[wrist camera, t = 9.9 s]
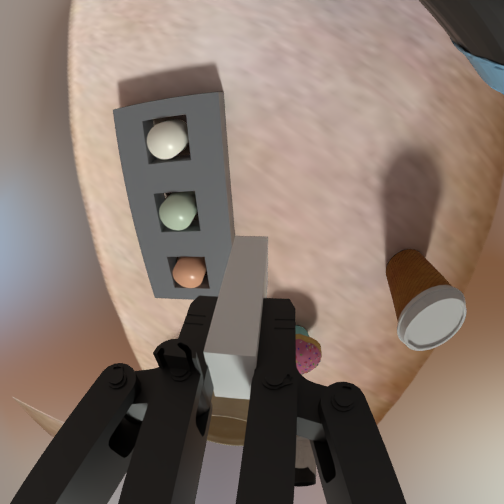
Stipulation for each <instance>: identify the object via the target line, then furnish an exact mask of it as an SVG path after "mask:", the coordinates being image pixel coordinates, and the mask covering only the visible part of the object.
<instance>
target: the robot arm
mask: <svg viewBox="0 0 504 504" xmlns="http://www.w3.org/2000/svg"><path fill="white" fill-rule="evenodd" d="M419 1H420V2H421V3H422V4H423V5H424V7H425V8H426V9H427V10H428V11H429V12H430V13H431V14H432V16H433V17H434V18H435V19H436V20H437V21H438V23H439V24H440V25H441V26H442V27H443V29H444V30H445V31H446V32H447V34H448V35H449V36H450V39H451V40H452V43H453V44H454V46H455V47H456V48H457V49H458V50H459V51H460V52H462V53H463V54H464V55H465V56H466V57H467V59H468V60H469V61H470V63H471V64H472V66H473V67H474V68H475V70H476V71H477V73H478V74H479V75H480V77H481V78H482V79H483V80H484V81H485V82H486V83H487V84H488V85H489V86H490V87H491V88H493V89H495V90H496V91H498V92H501V93H502V94H503V95H504V0H419ZM267 287H268V237H262V236H235V239H234V242H233V246H232V249H231V253H230V256H229V260H228V263H227V267H226V270H225V274H224V278H223V281H222V285H221V288H220V292H219V296H218V297H217V296H201V295H199V296H198V297H197V298H196V299H195V300H194V301H193V302H192V303H191V304H190V307H189V310H188V313H187V316H186V318H185V321H184V324H183V327H182V329H181V332H180V335H179V338H178V339H171V340H168V341H165V342H163V343H161V344H160V345H159V346H157V348H156V349H155V351H154V352H153V354H154V356H155V358H156V361H157V363H158V365H159V367H158V368H155V369H150V370H141V371H134V370H133V368H131V367H130V366H128V365H127V364H123V363H118V364H113V365H111V366H108V367H107V368H106V369H105V370H104V371H103V372H102V373H101V375H100V376H99V377H98V378H97V380H96V381H95V383H94V384H93V385H92V386H91V388H90V389H89V390H88V392H87V393H86V394H85V396H84V397H83V398H82V400H81V401H80V402H79V404H78V405H77V407H76V408H75V409H74V410H73V412H72V413H71V414H70V416H69V417H68V419H67V420H66V421H65V423H64V424H63V426H62V427H61V428H60V430H59V431H58V433H57V434H56V435H55V437H54V438H53V440H52V441H51V443H50V444H49V445H48V447H47V448H46V450H45V451H44V453H43V454H42V455H41V457H40V459H39V460H38V461H37V463H36V464H35V466H34V467H33V469H32V470H31V472H30V473H29V475H28V477H27V478H26V480H25V481H24V482H23V484H22V486H21V487H20V489H19V490H18V492H17V494H16V495H15V497H14V498H13V500H12V502H11V503H10V504H107V503H108V501H109V500H110V498H111V496H112V495H113V493H114V492H115V490H116V488H117V487H118V485H119V483H120V482H121V480H122V479H123V477H124V475H125V474H126V472H127V474H126V477H125V481H124V484H123V488H122V492H121V495H120V499H119V503H118V504H195V499H196V494H197V489H198V483H199V478H200V473H201V468H202V462H203V457H204V452H205V447H206V441H207V436H208V431H209V426H210V421H211V416H212V403H211V400H212V395H213V391H214V394H215V396H217V397H227V398H237V399H250V400H249V408H248V416H247V424H246V432H245V439H244V447H243V454H242V462H241V469H240V478H239V485H238V491H237V498H236V504H293V500H294V483H295V463H296V435H297V436H300V437H303V438H307V439H309V440H310V444H311V448H312V451H313V455H314V458H315V462H316V466H317V469H318V473H319V477H320V480H321V484H322V487H323V491H324V495H325V498H326V502H327V504H406V501H405V499H404V496H403V493H402V490H401V487H400V485H399V482H398V479H397V477H396V474H395V471H394V469H393V466H392V463H391V461H390V458H389V455H388V453H387V450H386V447H385V445H384V442H383V440H382V437H381V435H380V432H379V430H378V427H377V425H376V422H375V420H374V417H373V415H372V413H371V410H370V408H369V405H368V403H367V401H366V398H365V396H364V394H363V393H362V391H361V390H360V388H358V387H357V386H355V385H354V384H351V383H348V382H336V383H334V384H331V385H329V386H328V387H327V386H323V385H320V384H316V383H313V382H311V381H309V380H307V379H306V378H304V377H303V376H302V375H301V374H300V373H299V371H298V369H297V366H296V330H295V329H296V326H295V307H294V306H293V304H292V302H291V301H290V299H276V298H267Z"/></svg>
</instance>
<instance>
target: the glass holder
mask: <svg viewBox="0 0 504 504" xmlns="http://www.w3.org/2000/svg"><path fill="white" fill-rule="evenodd" d="M315 483H316V462H315V458H314V455H313V451H312V448H311V444H310V440H309V439H307V438H303V437H300V436H297V437H296V463H295V483H294V486H309V485H314V484H315Z"/></svg>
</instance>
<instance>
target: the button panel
mask: <svg viewBox="0 0 504 504" xmlns="http://www.w3.org/2000/svg"><path fill="white" fill-rule="evenodd" d="M185 114H186V118H187V128H188V137H189V146H190V155H181V156H174V157H172V158H170V159H160V158H157V157H155V156H154V155H153V154H152V153H151V152H150V150H149V148H148V145H147V136H148V133H149V131H150V130H151V129H152V128H153V127H154V123H153V119H157V118H164V117H170V116H178V115H185ZM113 115H114V122H115V129H116V136H117V142H118V148H119V154H120V160H121V165H122V171H123V176H124V181H125V186H126V191H127V195H128V200H129V204H130V209H131V213H132V217H133V221H134V226H135V230H136V233H137V237H138V241H139V245H140V249H141V252H142V256H143V259H144V263H145V266H146V270H147V273H148V277H149V280H150V283H151V286H152V290H153V293H154V296H155V298H169V299H193V300H195V299H196V298H197V297H198V296H199V295H201V296H217V297H218V296H219V292H220V288H221V285H222V281H223V278H224V274H225V270H226V267H227V263H228V260H229V256H230V253H231V249H232V246H233V242H234V239H235V229H234V218H233V206H232V194H231V182H230V170H229V157H228V145H227V132H226V118H225V104H224V92H213V93H203V94H195V95H187V96H180V97H174V98H168V99H162V100H156V101H151V102H146V103H141V104H136V105H131V106H127V107H123V108H118V109H114V110H113ZM184 191H195V195H196V202H197V210H198V217H199V220H194V221H192V222H191V223H190V225H189V226H188V227H187V228H185V229H183V230H173V229H170V228H168V227H167V226H165V225H164V224H163V222H162V221H161V219H160V215H159V209H160V206H161V205H162V203H163V202H164V201H165V197H164V193H169V192H184ZM176 257H205V262H206V268H207V274H208V275H204V277H203V280H202V283H201V284H200V285H199V286H197V287H195V288H186V287H183V286H181V285H180V284H178V283H177V282H176V281H175V279H174V277H173V269H174V267H175V265H176V263H177V258H176Z"/></svg>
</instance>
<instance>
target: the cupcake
mask: <svg viewBox="0 0 504 504" xmlns="http://www.w3.org/2000/svg"><path fill="white" fill-rule="evenodd" d="M295 326H296V329H295V330H296V366H297V369H298V371H299V373H300V374H301V375H302V374H304V373H308V372H309V371H311V370H312V369H314V368H316V366H317V365H318V363H319V362H320V360H321V356H322V353H321V346H320V344H319V343H318V341H316V340H315V339H313V338H310V337H309V335H308V333H307V331H306V330H305V329H304V328H303V327H301V326H297V325H295Z"/></svg>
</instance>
